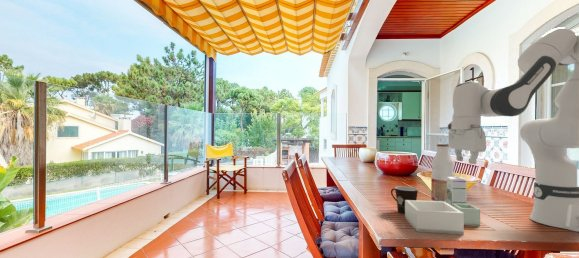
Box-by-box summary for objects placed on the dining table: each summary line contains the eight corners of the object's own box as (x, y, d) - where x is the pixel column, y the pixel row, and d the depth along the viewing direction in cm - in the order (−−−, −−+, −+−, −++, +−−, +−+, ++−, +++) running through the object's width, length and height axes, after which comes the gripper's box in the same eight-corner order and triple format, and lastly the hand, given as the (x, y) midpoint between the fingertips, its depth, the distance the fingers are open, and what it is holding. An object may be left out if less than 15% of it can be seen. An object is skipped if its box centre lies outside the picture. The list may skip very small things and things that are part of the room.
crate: (444, 220, 102) (444, 201, 102) (463, 234, 88) (463, 213, 88) (404, 218, 104) (405, 199, 104) (417, 231, 90) (417, 210, 90)
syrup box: (467, 215, 108) (467, 179, 108) (451, 214, 109) (451, 178, 109) (461, 211, 113) (461, 176, 113) (446, 210, 115) (446, 176, 115)
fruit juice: (442, 208, 117) (442, 144, 117) (426, 203, 126) (426, 143, 126) (460, 207, 119) (460, 144, 119) (443, 202, 128) (443, 143, 128)
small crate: (470, 220, 102) (470, 204, 102) (480, 226, 96) (480, 209, 96) (452, 219, 103) (452, 203, 103) (460, 225, 97) (460, 208, 97)
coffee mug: (421, 216, 106) (421, 190, 107) (400, 215, 106) (400, 190, 107) (408, 207, 118) (408, 184, 118) (389, 207, 118) (389, 184, 118)
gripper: (492, 124, 89) (491, 166, 89) (462, 125, 109) (461, 159, 109) (471, 124, 90) (471, 165, 90) (445, 125, 110) (445, 159, 110)
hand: (465, 162), depth 100 cm, fingers open, 8 cm apart
